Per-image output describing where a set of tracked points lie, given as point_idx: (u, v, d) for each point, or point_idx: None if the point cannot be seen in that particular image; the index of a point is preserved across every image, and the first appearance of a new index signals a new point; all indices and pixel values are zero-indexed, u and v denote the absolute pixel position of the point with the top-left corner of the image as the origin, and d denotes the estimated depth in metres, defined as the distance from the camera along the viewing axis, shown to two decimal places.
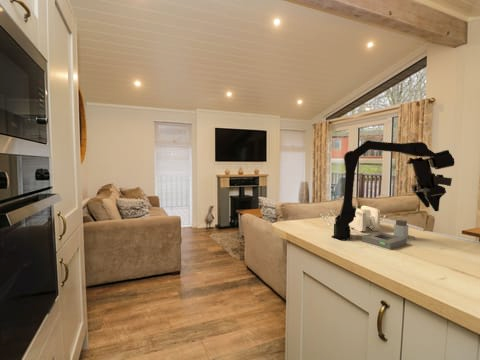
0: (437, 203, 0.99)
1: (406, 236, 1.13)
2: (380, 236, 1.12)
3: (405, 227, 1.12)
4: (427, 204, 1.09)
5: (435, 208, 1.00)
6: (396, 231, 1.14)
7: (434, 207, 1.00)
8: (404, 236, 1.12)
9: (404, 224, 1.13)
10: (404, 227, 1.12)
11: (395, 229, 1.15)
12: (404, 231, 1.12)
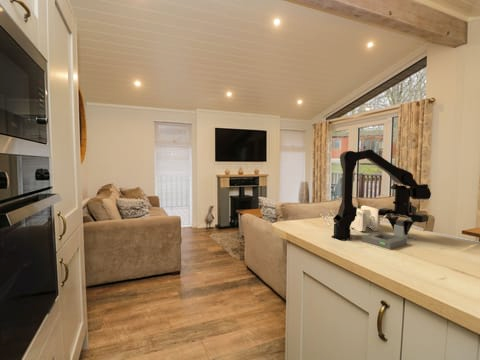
0: (409, 228, 1.12)
1: (406, 236, 1.13)
2: (380, 236, 1.12)
3: None
4: None
5: (406, 232, 1.12)
6: (396, 231, 1.14)
7: (407, 231, 1.12)
8: (404, 236, 1.12)
9: None
10: None
11: (395, 229, 1.15)
12: None
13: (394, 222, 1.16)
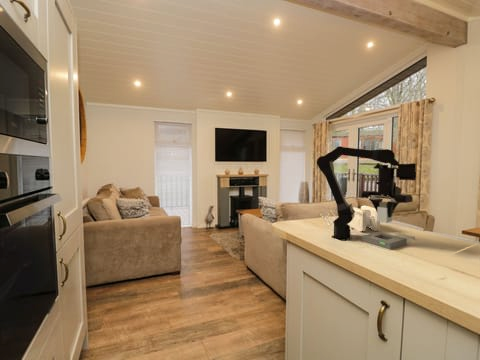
0: (393, 210, 1.05)
1: (390, 219, 1.06)
2: (380, 236, 1.12)
3: None
4: None
5: (390, 214, 1.05)
6: (379, 213, 1.07)
7: (390, 213, 1.05)
8: (388, 219, 1.05)
9: None
10: None
11: (378, 211, 1.08)
12: None
13: (378, 204, 1.09)
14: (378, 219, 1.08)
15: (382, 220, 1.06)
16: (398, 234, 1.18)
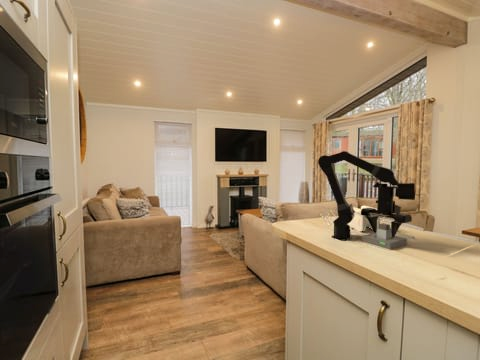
0: (397, 229, 1.04)
1: None
2: None
3: (388, 231, 1.06)
4: (375, 229, 1.11)
5: (394, 234, 1.04)
6: (378, 235, 1.08)
7: (394, 233, 1.04)
8: None
9: (387, 228, 1.06)
10: (387, 231, 1.06)
11: (378, 233, 1.08)
12: (387, 236, 1.06)
13: (373, 222, 1.11)
14: None
15: None
16: (398, 234, 1.18)
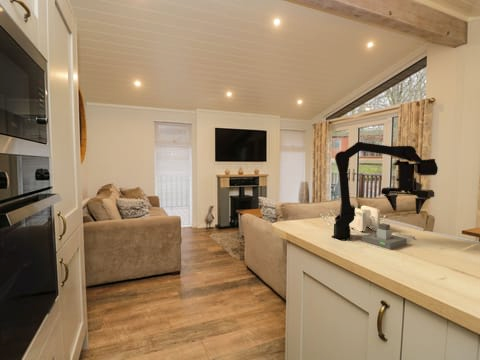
0: (421, 206, 1.04)
1: None
2: None
3: (388, 231, 1.06)
4: (395, 208, 1.12)
5: (418, 211, 1.04)
6: (378, 235, 1.08)
7: (418, 210, 1.04)
8: None
9: (387, 228, 1.06)
10: (387, 231, 1.06)
11: (378, 233, 1.08)
12: (387, 236, 1.06)
13: (393, 200, 1.12)
14: None
15: None
16: (398, 234, 1.18)
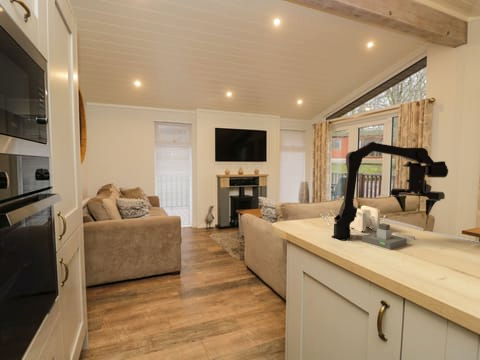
0: (431, 208, 1.05)
1: None
2: None
3: (388, 231, 1.06)
4: (404, 209, 1.14)
5: (428, 212, 1.05)
6: (378, 235, 1.08)
7: (428, 211, 1.05)
8: None
9: (387, 228, 1.06)
10: (387, 231, 1.06)
11: (378, 233, 1.08)
12: (387, 236, 1.06)
13: (402, 201, 1.13)
14: None
15: None
16: (398, 234, 1.18)
